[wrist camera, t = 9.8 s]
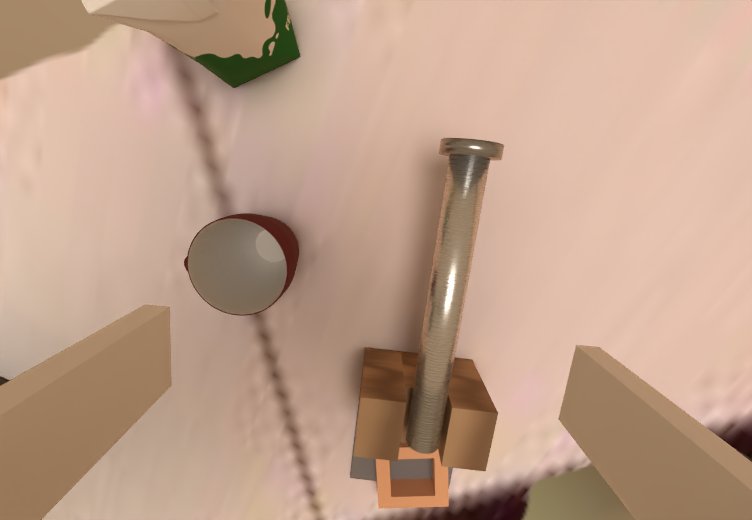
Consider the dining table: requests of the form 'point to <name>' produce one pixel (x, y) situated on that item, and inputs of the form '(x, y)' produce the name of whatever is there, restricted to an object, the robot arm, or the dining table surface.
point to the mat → (393, 468)
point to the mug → (242, 262)
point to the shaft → (448, 285)
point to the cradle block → (393, 401)
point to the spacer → (412, 483)
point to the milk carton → (213, 31)
